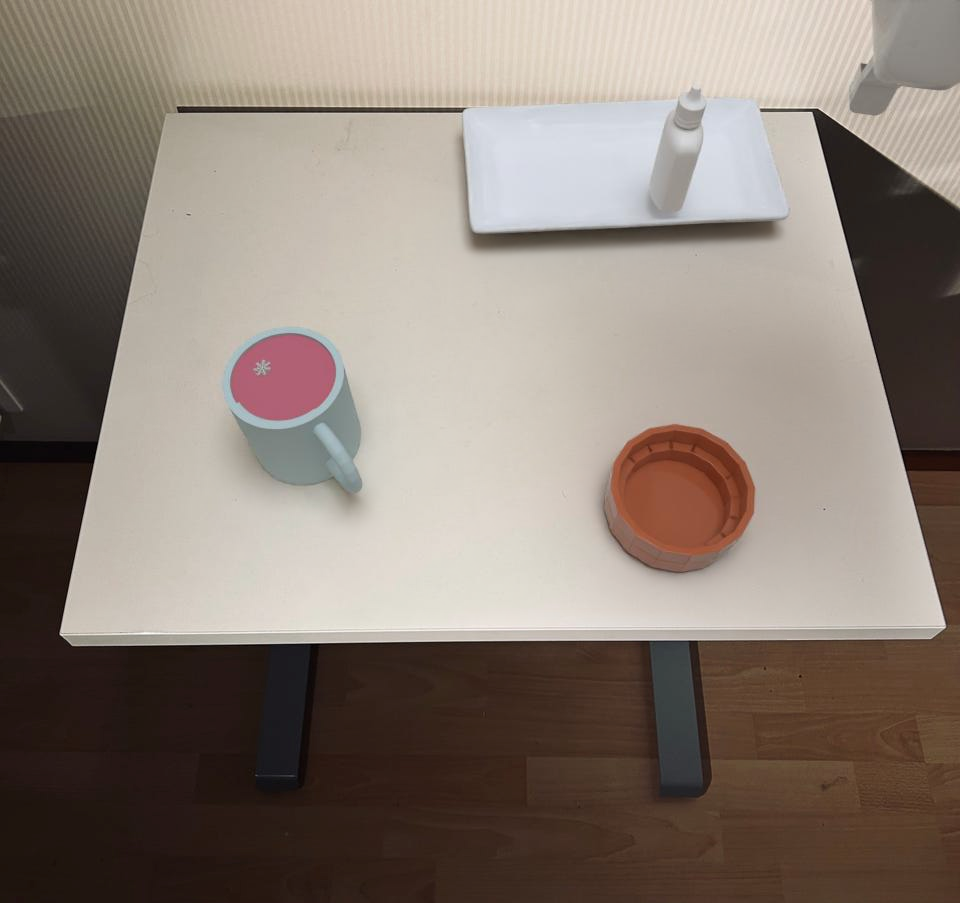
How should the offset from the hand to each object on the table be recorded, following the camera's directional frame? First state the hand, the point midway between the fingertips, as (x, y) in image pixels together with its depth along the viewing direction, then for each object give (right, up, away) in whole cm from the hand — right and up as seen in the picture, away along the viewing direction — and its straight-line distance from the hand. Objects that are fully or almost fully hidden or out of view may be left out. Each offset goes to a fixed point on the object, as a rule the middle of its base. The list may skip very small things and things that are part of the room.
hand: (862, 45), depth 43 cm
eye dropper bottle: (-2, +3, +35) cm, 35 cm away
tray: (-7, +6, +40) cm, 41 cm away
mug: (-34, -22, +26) cm, 48 cm away
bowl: (-5, -27, +23) cm, 36 cm away
